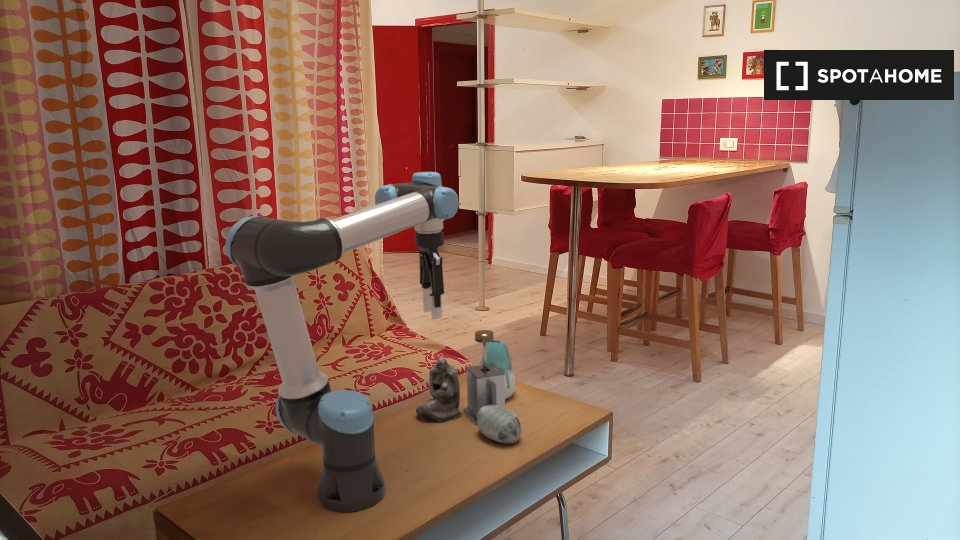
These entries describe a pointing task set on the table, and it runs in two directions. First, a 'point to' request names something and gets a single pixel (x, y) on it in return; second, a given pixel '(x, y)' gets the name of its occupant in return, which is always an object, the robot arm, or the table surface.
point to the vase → (501, 363)
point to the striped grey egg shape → (499, 424)
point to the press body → (484, 389)
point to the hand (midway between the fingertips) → (432, 314)
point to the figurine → (441, 394)
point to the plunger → (484, 343)
